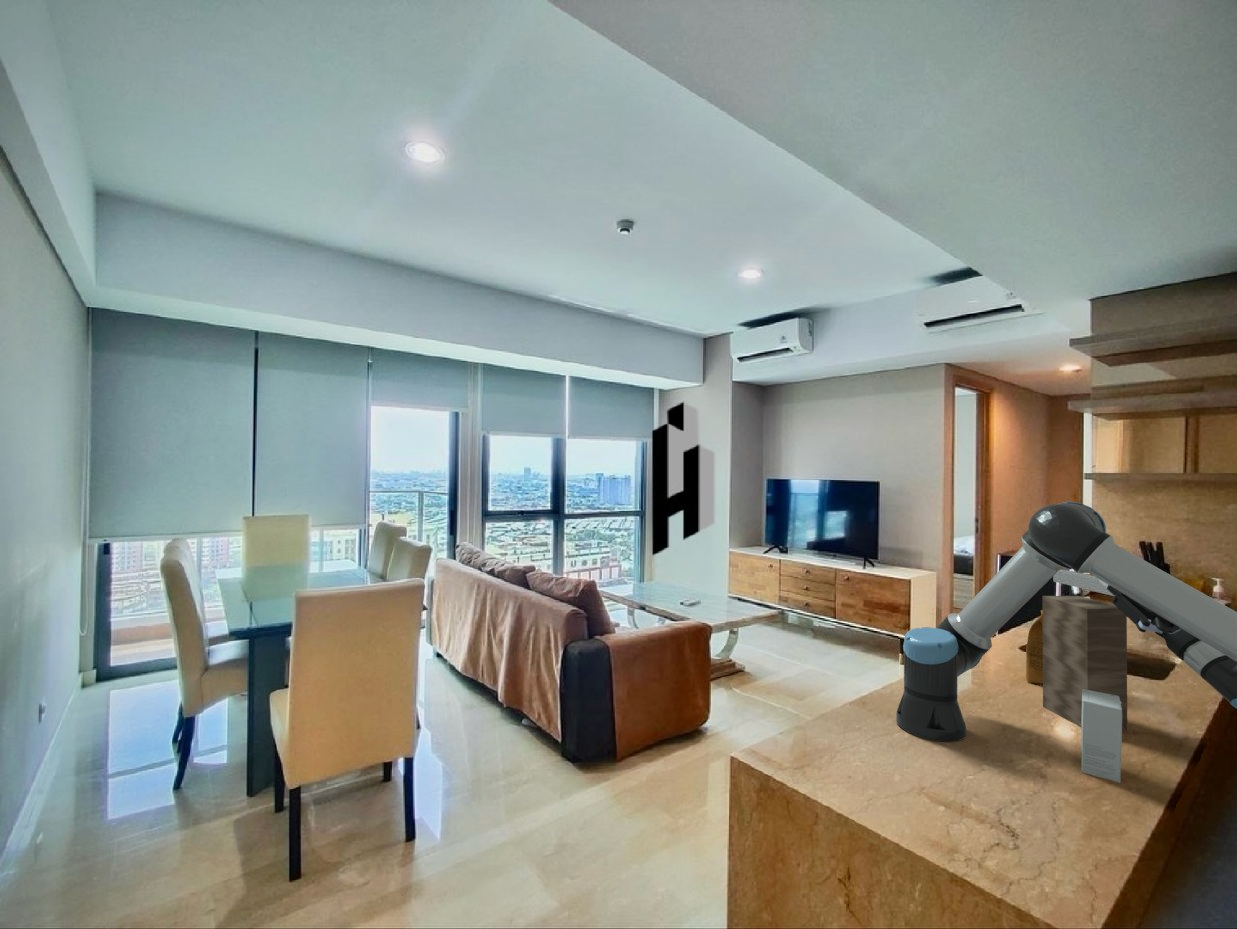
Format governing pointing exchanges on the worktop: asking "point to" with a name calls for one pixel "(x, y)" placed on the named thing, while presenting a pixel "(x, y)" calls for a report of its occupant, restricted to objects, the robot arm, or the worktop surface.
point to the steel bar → (1080, 581)
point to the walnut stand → (1082, 653)
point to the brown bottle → (1035, 652)
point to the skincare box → (1101, 735)
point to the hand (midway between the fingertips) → (1111, 576)
